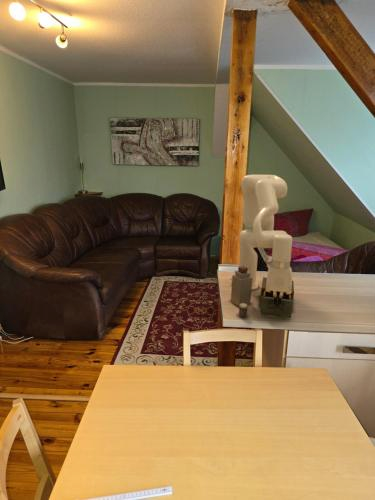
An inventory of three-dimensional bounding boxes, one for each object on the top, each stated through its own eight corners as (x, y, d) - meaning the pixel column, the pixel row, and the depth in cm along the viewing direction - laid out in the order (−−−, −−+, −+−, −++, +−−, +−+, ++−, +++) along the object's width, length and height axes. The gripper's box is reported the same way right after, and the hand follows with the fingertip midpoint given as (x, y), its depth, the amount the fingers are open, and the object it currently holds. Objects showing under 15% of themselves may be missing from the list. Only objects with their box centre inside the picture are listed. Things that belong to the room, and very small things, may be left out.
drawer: (291, 324, 140) (293, 306, 138) (259, 319, 143) (260, 301, 141) (290, 305, 157) (292, 289, 155) (261, 301, 160) (263, 286, 158)
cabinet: (291, 312, 153) (294, 291, 150) (259, 307, 156) (261, 288, 153) (291, 299, 166) (293, 280, 163) (261, 295, 170) (263, 277, 167)
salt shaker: (238, 317, 147) (238, 305, 145) (239, 313, 150) (239, 302, 149) (246, 318, 146) (247, 307, 144) (247, 314, 149) (248, 303, 148)
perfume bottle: (238, 306, 157) (241, 270, 152) (230, 301, 163) (232, 266, 158) (250, 304, 160) (253, 268, 155) (241, 298, 166) (244, 264, 161)
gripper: (261, 264, 136) (258, 306, 140) (300, 268, 132) (295, 311, 136) (262, 260, 143) (259, 299, 147) (299, 263, 139) (295, 304, 143)
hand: (277, 305), depth 142 cm, fingers closed
